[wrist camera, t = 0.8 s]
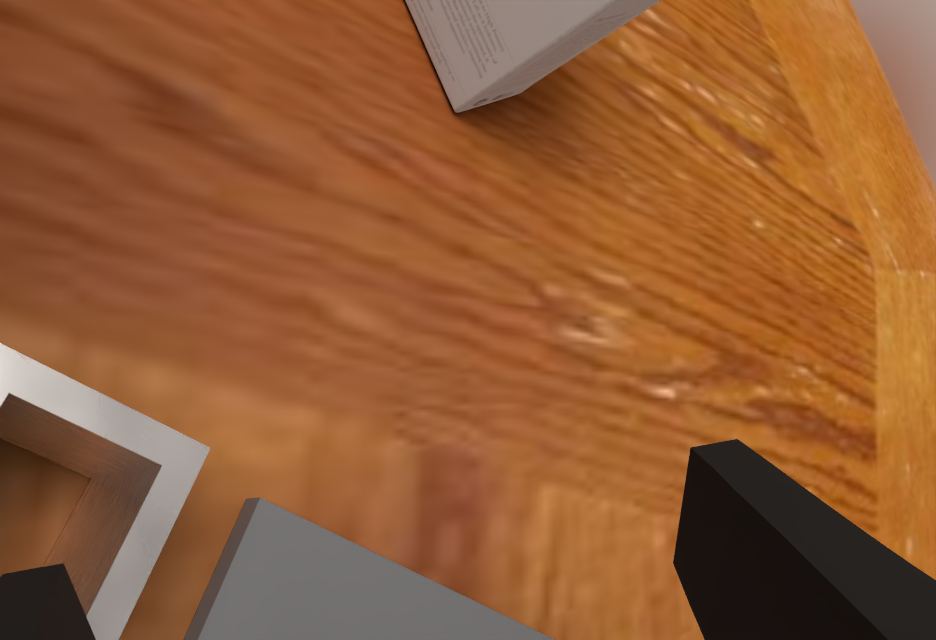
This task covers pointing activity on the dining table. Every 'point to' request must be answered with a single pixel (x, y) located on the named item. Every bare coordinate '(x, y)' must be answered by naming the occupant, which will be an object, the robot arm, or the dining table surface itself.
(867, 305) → the dining table surface
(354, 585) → the block
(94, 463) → the square socket
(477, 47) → the skincare box
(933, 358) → the dining table surface
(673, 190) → the dining table surface
